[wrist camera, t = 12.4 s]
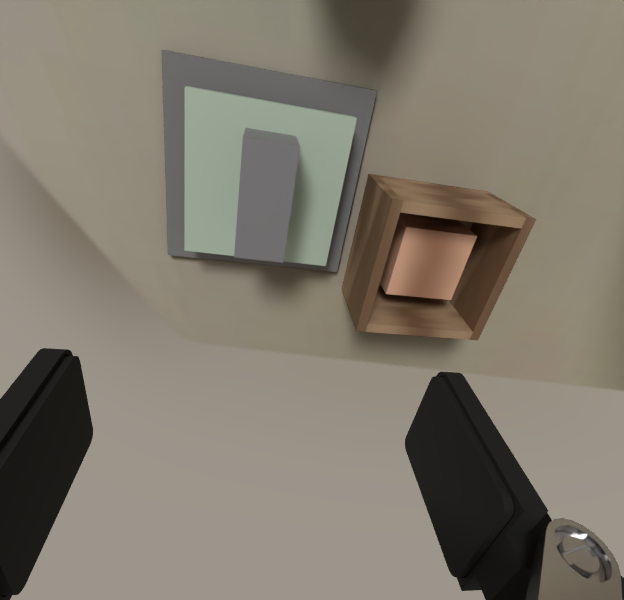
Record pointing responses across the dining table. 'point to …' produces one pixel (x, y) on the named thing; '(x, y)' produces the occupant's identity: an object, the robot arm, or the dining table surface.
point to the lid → (262, 177)
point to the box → (430, 258)
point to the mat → (265, 87)
